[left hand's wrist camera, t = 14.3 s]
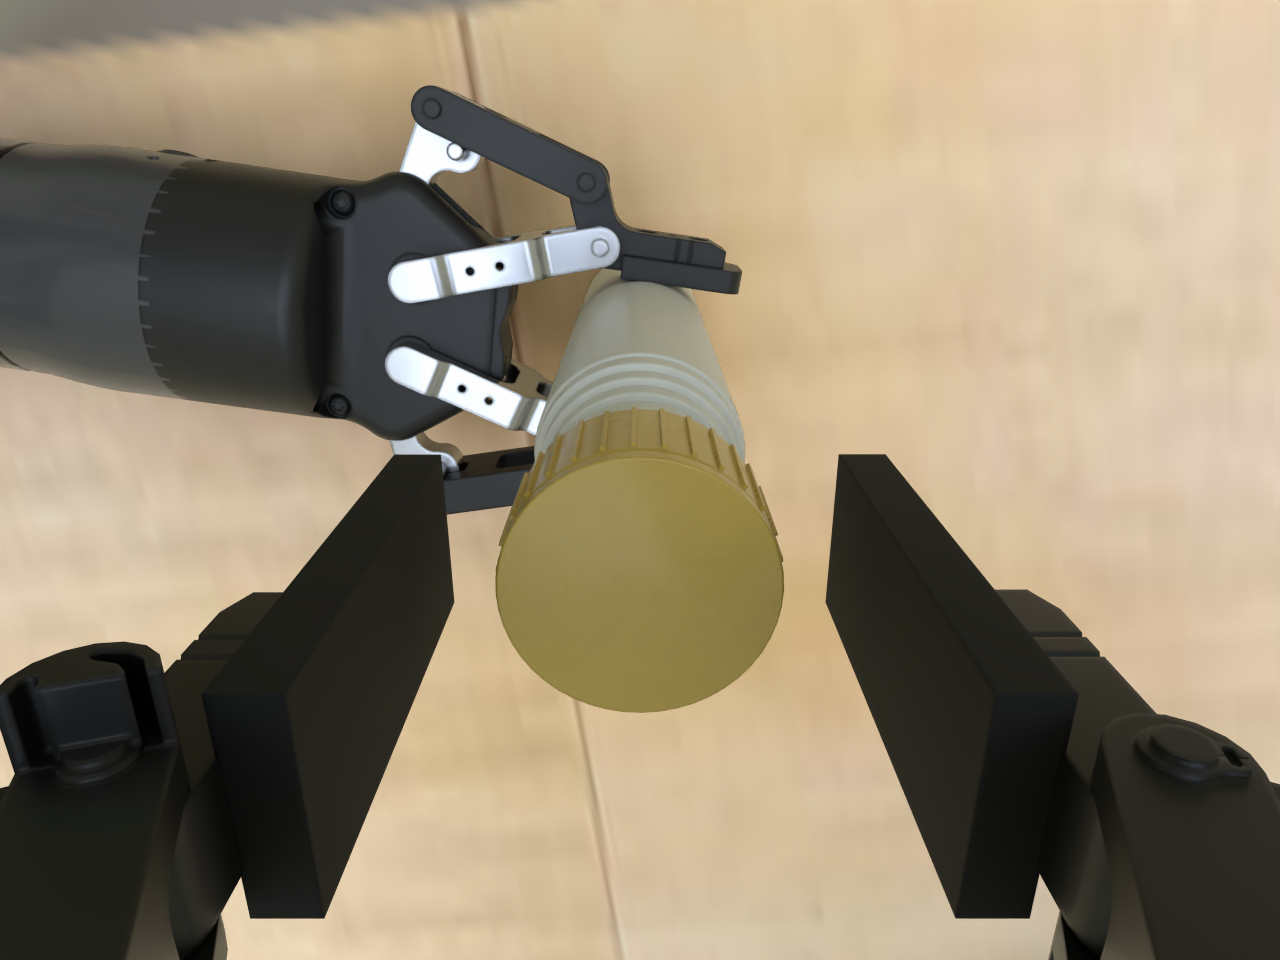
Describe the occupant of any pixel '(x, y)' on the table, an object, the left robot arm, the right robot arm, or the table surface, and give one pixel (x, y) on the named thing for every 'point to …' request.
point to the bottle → (639, 361)
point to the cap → (639, 563)
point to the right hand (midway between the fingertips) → (721, 355)
